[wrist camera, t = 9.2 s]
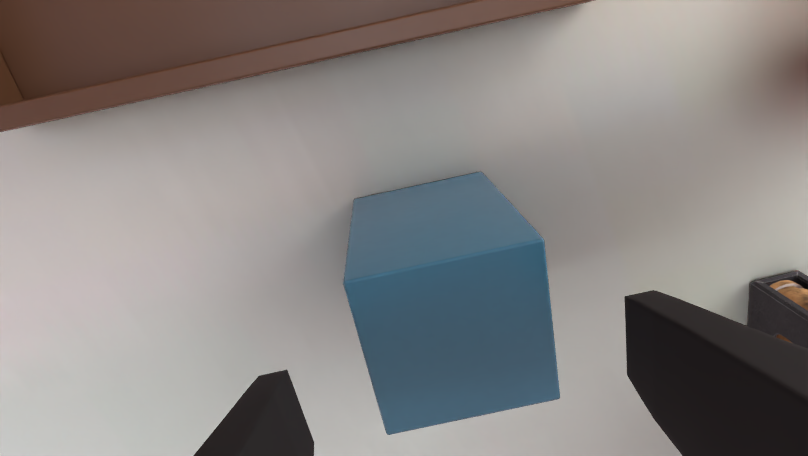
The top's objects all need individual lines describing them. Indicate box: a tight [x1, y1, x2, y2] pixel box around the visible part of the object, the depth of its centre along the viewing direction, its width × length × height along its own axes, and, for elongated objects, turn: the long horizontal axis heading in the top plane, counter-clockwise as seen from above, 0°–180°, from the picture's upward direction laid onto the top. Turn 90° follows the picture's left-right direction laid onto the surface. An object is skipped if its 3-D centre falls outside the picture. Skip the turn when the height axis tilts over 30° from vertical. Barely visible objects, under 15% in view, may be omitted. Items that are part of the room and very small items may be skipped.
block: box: [343, 172, 560, 435], centre depth 13 cm, size 4×4×6 cm
